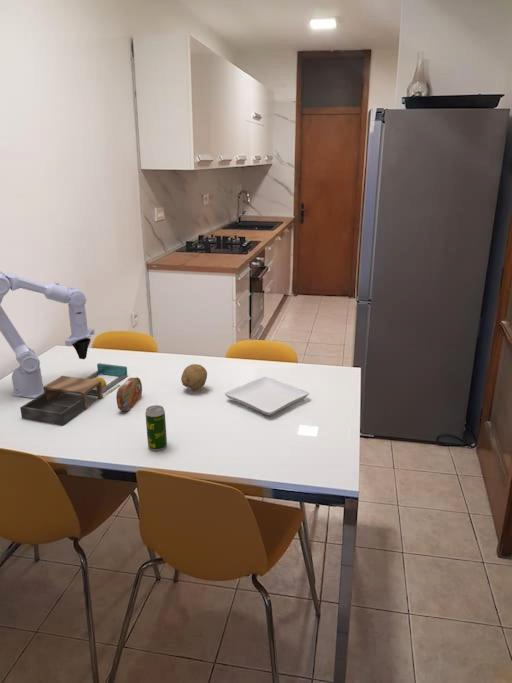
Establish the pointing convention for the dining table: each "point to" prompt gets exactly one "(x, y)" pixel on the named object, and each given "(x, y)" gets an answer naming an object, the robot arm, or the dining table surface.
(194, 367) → the brown potato
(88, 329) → the robot arm
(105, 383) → the bread roll
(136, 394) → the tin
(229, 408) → the dining table surface
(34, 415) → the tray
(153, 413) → the beer can
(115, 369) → the drawer
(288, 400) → the salad plate
